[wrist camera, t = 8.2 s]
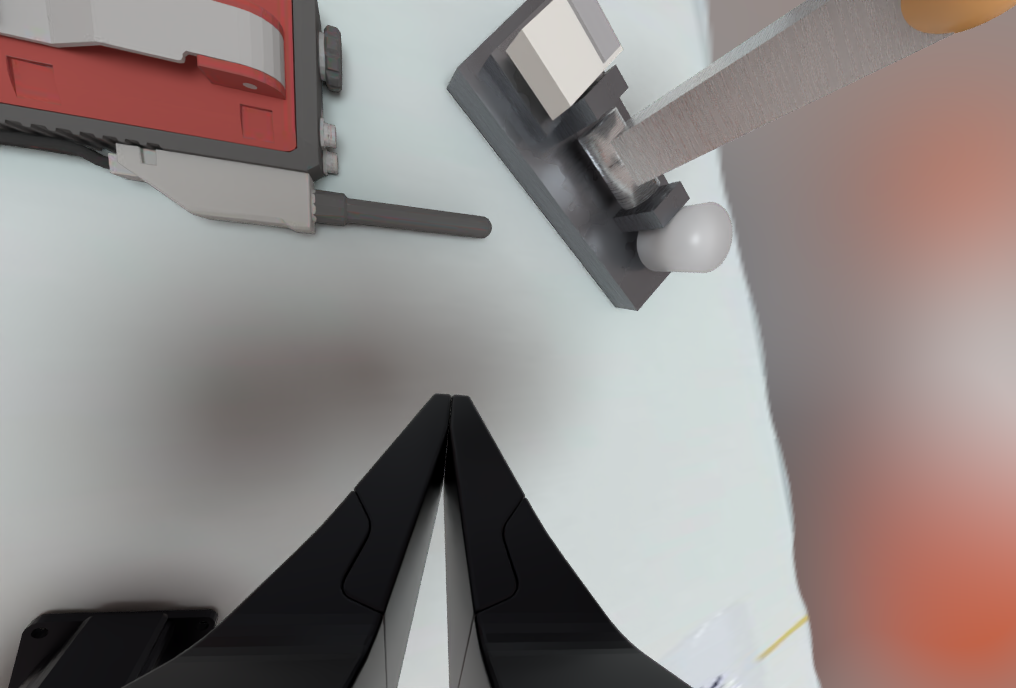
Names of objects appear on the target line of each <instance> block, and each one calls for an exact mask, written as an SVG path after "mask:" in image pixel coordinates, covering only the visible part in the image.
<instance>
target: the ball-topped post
mask: <svg viewBox="0 0 1016 688" xmlns="http://www.w3.org/2000/svg"><path fill="white" fill-rule="evenodd" d="M1015 5H1016V0H806V1H805V2H803V3H802V4H800V5H799V6H797V7H796V8H794V9H793V10H791V11H790V12H788V13H787V14H785V15H784V16H782V17H781V18H779V19H778V20H776V21H775V22H773V23H772V24H771V25H769V26H767V27H766V28H764V29H763V30H762V31H760V32H759V33H757V34H755V35H754V36H753V37H751V38H749V39H748V40H746V41H745V42H743V43H742V44H740V45H739V46H737V47H736V48H735V49H733V50H731V51H730V52H728V53H727V54H726V55H724V56H722V57H721V58H719V59H718V60H716V61H715V62H714V63H712V64H711V65H709V66H708V67H706V68H705V69H703V70H702V71H700V72H699V73H697V74H696V75H694V76H693V77H691V78H690V79H688V80H687V81H685V82H684V83H682V84H681V85H679V86H678V87H676V88H675V89H673V90H672V91H670V92H669V93H667V94H666V95H664V96H663V97H661V98H660V99H658V100H657V101H655V102H654V103H652V104H651V105H649V106H648V107H646V108H645V109H643V110H642V111H640V112H639V113H637V114H636V115H634V116H633V117H631V118H630V119H628V120H627V121H624V120H623V118H622V116H621V115H620V113H619V111H618V109H617V108H616V107H613V108H611V109H609V110H608V111H606V112H605V113H604V114H603V115H602V116H601V117H600V118H599V119H598V120H597V121H595V122H594V123H592V124H591V125H589V126H588V127H587V128H586V129H585V130H584V131H583V133H582V134H581V135H580V136H579V138H578V141H579V143H580V144H581V146H582V147H583V149H584V150H585V152H586V153H587V155H588V156H589V158H590V159H591V161H592V162H593V164H594V165H595V167H596V169H597V170H598V172H599V173H600V175H601V176H602V178H603V179H604V181H605V182H606V184H607V185H608V187H609V188H610V190H611V191H612V193H613V194H614V196H615V198H616V199H617V201H618V202H619V204H620V205H621V207H622V208H623V209H624V210H627V209H631V208H634V207H636V206H638V205H639V204H641V203H643V202H644V201H646V200H647V199H648V198H649V197H651V196H652V195H653V194H654V193H655V192H656V190H657V189H658V188H659V186H660V182H659V180H658V178H657V177H658V176H660V175H662V174H664V173H666V172H668V171H670V170H673V169H675V168H677V167H679V166H681V165H683V164H685V163H687V162H689V161H691V160H693V159H695V158H697V157H699V156H702V155H704V154H706V153H708V152H710V151H712V150H714V149H716V148H718V147H720V146H722V145H724V144H726V143H728V142H731V141H733V140H735V139H737V138H739V137H741V136H743V135H745V134H747V133H749V132H751V131H753V130H755V129H757V128H759V127H762V126H764V125H766V124H768V123H770V122H772V121H774V120H776V119H778V118H780V117H782V116H784V115H786V114H789V113H791V112H793V111H795V110H797V109H799V108H801V107H803V106H805V105H807V104H809V103H811V102H813V101H815V100H817V99H820V98H821V97H824V96H826V95H828V94H830V93H832V92H834V91H836V90H838V89H840V88H842V87H845V86H847V85H849V84H850V83H853V82H855V81H857V80H859V79H861V78H863V77H865V76H867V75H869V74H871V73H873V72H876V71H877V70H880V69H882V68H884V67H886V66H888V65H890V64H892V63H894V62H896V61H898V60H900V59H902V58H905V57H907V56H909V55H911V54H913V53H915V52H917V51H919V50H921V49H923V48H925V47H927V46H929V45H932V44H934V43H936V42H938V41H939V40H942V39H944V38H946V37H948V36H950V35H952V34H954V33H958V32H962V31H965V30H968V29H971V28H974V27H976V26H979V25H981V24H983V23H986V22H987V21H989V20H991V19H993V18H995V17H997V16H999V15H1001V14H1002V13H1004V12H1006V11H1007V10H1009V9H1010V8H1012V7H1013V6H1015Z"/></svg>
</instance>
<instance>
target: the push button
mask: <svg viewBox="0 0 1016 688" xmlns="http://www.w3.org/2000/svg"><path fill="white" fill-rule="evenodd" d="M731 242H732V223H731V220H730V217H729V215H728V213H727V211H726V210H725V209H724V208H723V207H722V206H721V205H719V204H717V203H714V202H708V203H702V204H696V205H690V206H684V207H682V208H681V209H680V210H679V211H678V212H677V213H676V215H675V216H674V217H673V218H672V219H671V220H670V221H669V223H668V224H667V225H666V226H665V227H664V228H658V229H649V230H641V231H639V232H638V236H637V251H638V255H639V258H640V260H641V262H642V263H643V264H644V266H646V267H647V268H648V269H650V270H652V271H660V272H693V273H707V272H711V271H713V270H715V269H716V268H717V267H719V266H720V265H721V264H722V262H723V261H724V260H725V258H726V256H727V254H728V252H729V250H730V246H731Z"/></svg>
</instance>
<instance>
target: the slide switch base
mask: <svg viewBox="0 0 1016 688" xmlns="http://www.w3.org/2000/svg"><path fill="white" fill-rule="evenodd" d="M552 1H553V0H527V1H526V2H525V3H524V4H523V5H522V6H521V7H519V8H518V9H517V10H516V11H515V12H514V13H513V14H512V15H511V16H510V17H509V18H508V19H507V20H506V21H505V22H504V23H503V24H502V25H501V26H500V27H499V28H498V29H497V30H496V31H495V32H494V33H493V34H492V35H491V36H490V37H489V38H487V39H486V40H485V41H484V42H483V43H482V44H481V45H480V46H479V47H478V48H477V49H476V50H475V51H474V52H473V53H472V54H471V55H470V56H469V57H468V58H467V59H466V60H465V61H464V62H463V63H462V64H461V65H460V66H459V67H458V68H457V69H456V71H455V73H454V75H453V77H452V79H451V81H450V83H449V85H448V87H447V89H448V91H449V92H450V93H451V94H452V96H453V97H454V98H455V100H456V101H457V102H458V104H459V105H460V106H461V107H462V109H463V110H464V111H465V113H466V114H467V115H468V116H469V118H470V119H471V120H472V122H473V123H474V124H475V126H476V127H477V128H478V129H479V131H480V132H481V133H482V135H483V136H484V137H485V138H486V140H487V141H488V142H489V144H490V145H491V146H492V148H493V149H494V150H495V151H496V153H497V154H498V155H499V157H500V158H501V159H502V160H503V162H504V163H505V164H506V166H507V167H508V168H509V170H510V171H511V172H512V173H513V175H514V176H515V177H516V179H517V180H518V181H519V182H520V184H521V185H522V186H523V188H524V189H525V190H526V192H527V193H528V194H529V195H530V197H531V198H532V199H533V201H534V202H535V203H536V204H537V206H538V207H539V208H540V210H541V211H542V212H543V214H544V215H545V216H546V217H547V219H548V220H549V221H550V223H551V224H552V225H553V226H554V228H555V229H556V230H557V232H558V233H559V234H560V236H561V237H562V238H563V239H564V241H565V242H566V243H567V245H568V246H569V247H570V249H571V250H572V251H573V252H574V254H575V255H576V256H577V258H578V259H579V260H580V261H581V263H582V264H583V265H584V267H585V268H586V269H587V271H588V272H589V273H590V274H591V276H592V277H593V278H594V280H595V281H596V282H597V283H598V285H599V286H600V287H601V289H602V290H603V291H604V293H605V294H606V295H607V296H608V298H609V299H610V300H611V302H612V303H613V304H614V305H615V307H618V308H624V309H629V310H635V311H638V310H639V309H640V307H641V306H642V305H643V304H644V303H645V302H646V300H647V299H648V298H649V297H650V296H651V295H652V293H653V292H654V291H655V290H656V289H657V288H658V286H659V285H660V284H661V283H662V282H663V281H664V279H665V278H666V277H667V276H668V275H669V274H670V273H671V272H660V271H652V270H650V269H648V268H647V267H646V266H644V264H643V263H642V262H641V260H640V258H639V255H638V251H637V236H638V232H639V231H641V230H649V229H658V228H664V227H665V226H666V225H667V224H668V223H669V221H670V220H671V219H672V218H673V217H674V216H675V215H676V213H677V212H678V211H679V210H680V209H681V208H682V207H683V205H684V204H685V203H686V202H687V201H688V200H689V199H690V198H689V196H688V194H687V192H686V191H685V189H684V187H683V185H682V183H681V182H680V181H679V182H675V183H671V184H668V182H667V180H666V178H665V177H664V175H663V174H662V175H660V176H658V177H657V178H658V180H659V182H660V186H659V188H658V189H657V190H656V192H655V193H654V194H653V195H652V196H651V197H649V198H648V199H647V200H646V201H644V202H643V203H641V204H639V205H638V206H636V207H634V208H631V209H627V210H624V209H623V208H622V207H621V205H620V204H619V202H618V201H617V199H616V198H615V196H614V194H613V193H612V191H611V190H610V188H609V187H608V185H607V184H606V182H605V181H604V179H603V178H602V176H601V175H600V173H599V172H598V170H597V169H596V167H595V165H594V164H593V162H592V161H591V159H590V158H589V156H588V155H587V153H586V152H585V150H584V149H583V147H582V146H581V144H580V143H579V141H578V138H579V136H580V135H581V134H582V133H583V131H584V130H585V129H586V128H587V127H588V126H589V125H591V124H592V123H594V122H595V121H597V120H598V119H599V118H600V117H601V116H602V115H603V114H604V113H605V112H606V111H608V110H609V109H611V108H613V107H616V108H617V109H618V111H619V113H620V115H621V116H622V118H623V120H624V121H627V120H628V119H630V118H631V117H630V115H629V114H628V112H627V110H626V108H625V107H624V105H623V103H622V101H621V100H620V98H619V97H620V96H621V95H622V94H623V93H624V92H625V91H626V90H627V89H628V86H627V84H626V82H625V80H624V79H623V77H622V75H621V73H620V71H619V70H618V68H617V66H616V65H614V66H613V67H612V68H611V69H609V70H608V71H607V72H604V71H603V72H602V73H601V74H600V75H599V76H598V77H597V78H596V80H595V81H594V82H593V83H592V84H591V85H590V86H589V87H588V88H587V89H586V90H585V91H584V93H583V94H582V95H581V96H580V97H579V98H578V99H577V100H576V101H575V102H574V103H573V105H572V106H571V107H569V108H568V109H567V110H566V111H564V112H563V113H562V114H560V115H559V116H558V117H557V118H555V119H554V120H552V119H551V118H550V116H549V115H548V113H547V112H546V110H545V109H544V107H543V106H542V104H541V103H540V101H539V100H538V98H537V97H536V95H535V94H534V92H533V91H532V89H531V88H530V86H529V85H528V83H527V82H526V80H525V79H524V77H523V76H522V74H521V73H520V71H519V70H518V68H517V67H516V65H515V64H514V62H513V61H512V59H511V58H510V56H509V55H508V53H507V52H506V49H507V48H508V47H509V45H510V44H511V43H512V42H513V40H514V39H515V38H516V36H517V35H518V34H519V32H520V31H521V30H522V29H523V28H524V27H525V26H526V25H527V24H528V23H529V22H530V21H531V20H532V19H533V18H534V17H536V16H537V15H538V14H539V13H540V12H541V11H542V10H543V9H544V8H545V7H546V6H547V5H549V4H550V3H551V2H552Z"/></svg>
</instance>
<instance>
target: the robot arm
mask: <svg viewBox="0 0 1016 688" xmlns="http://www.w3.org/2000/svg"><path fill="white" fill-rule="evenodd" d="M451 399H452V401H451ZM450 409H451V411H450ZM449 420H450V421H449ZM448 430H449V432H448ZM447 440H448V442H447ZM446 451H447V453H446ZM445 461H446V463H445ZM444 471H445V474H444ZM443 480H444V524H445V557H446V591H447V625H448V659H449V688H692V687H691V686H690V685H688V684H687V683H685V682H684V681H682V680H681V679H680V678H678V677H677V676H675V675H674V674H673V673H671V672H670V671H668V670H667V669H665V668H664V667H663V666H661V665H660V664H658V663H657V662H656V661H654V660H653V659H651V658H650V657H648V656H647V655H646V654H644V653H643V652H642V651H640V650H639V649H638V648H637V647H636V646H634V645H633V644H632V643H631V642H630V641H629V640H628V639H627V638H626V637H625V636H624V635H623V634H622V633H621V632H620V631H619V630H618V629H617V628H616V626H615V625H614V624H613V623H612V622H611V620H610V619H609V618H608V616H607V615H606V614H605V612H604V611H603V610H602V608H601V607H600V606H599V604H598V603H597V602H596V600H595V599H594V597H593V596H592V595H591V593H590V592H589V591H588V589H587V588H586V586H585V585H584V584H583V582H582V581H581V580H580V578H579V577H578V575H577V574H576V573H575V571H574V570H573V569H572V567H571V566H570V565H569V563H568V562H567V560H566V559H565V558H564V556H563V555H562V553H561V552H560V551H559V549H558V548H557V546H556V545H555V543H554V542H553V540H552V539H551V538H550V536H549V535H548V533H547V532H546V530H545V528H544V527H543V525H542V523H541V522H540V520H539V518H538V517H537V515H536V514H535V512H534V510H533V508H532V506H531V505H530V503H529V501H528V499H527V498H525V494H524V493H523V491H522V489H521V487H520V485H519V484H518V482H517V480H516V478H515V477H514V475H513V473H512V471H511V470H510V468H509V466H508V464H507V462H506V461H505V459H504V457H503V455H502V454H501V452H500V450H499V448H498V446H497V445H496V443H495V441H494V439H493V438H492V436H491V434H490V432H489V430H488V429H487V427H486V425H485V423H484V422H483V420H482V418H481V416H480V415H479V413H478V411H477V409H476V407H475V406H474V404H473V402H472V400H471V399H470V397H469V396H465V395H453V396H452V397H451V395H450V394H439V393H436V394H434V395H433V396H432V397H431V398H430V400H429V401H428V402H427V403H426V404H425V405H424V407H423V408H422V409H421V410H420V411H419V413H418V414H417V415H416V416H415V417H414V418H413V420H412V421H411V422H410V423H409V424H408V425H407V427H406V428H405V429H404V430H403V431H402V433H401V434H400V435H399V436H398V437H397V438H396V440H395V441H394V442H393V443H392V444H391V446H390V447H389V448H388V449H387V450H386V451H385V453H384V454H383V455H382V456H381V457H380V458H379V460H378V461H377V462H376V463H375V464H374V466H373V467H372V468H371V469H370V470H369V471H368V473H367V474H366V475H365V476H364V477H363V478H362V480H361V481H360V482H359V483H358V484H357V486H356V487H355V488H354V491H351V492H350V493H349V495H348V496H347V497H346V498H345V499H344V501H343V502H342V503H341V504H340V505H339V506H338V508H337V509H336V510H335V511H334V512H333V513H332V514H331V515H330V516H329V518H328V519H327V520H326V521H325V522H324V523H323V524H322V525H321V526H320V527H319V528H318V529H317V530H316V531H315V532H314V533H313V534H312V535H311V536H310V537H309V538H308V539H307V540H306V541H305V542H304V543H303V544H302V545H301V546H300V547H299V548H298V549H297V550H296V551H295V552H294V553H293V554H292V555H291V556H290V557H289V558H288V559H287V560H286V561H285V562H284V563H283V564H282V565H281V566H280V567H279V568H278V569H277V570H275V571H274V572H273V573H272V574H271V575H270V576H269V577H268V578H267V579H266V580H265V581H264V582H263V583H262V584H261V585H260V586H259V587H258V588H257V589H256V590H255V591H254V592H252V593H251V594H250V595H249V596H248V597H247V598H246V599H245V600H244V601H243V602H242V603H241V604H240V605H239V606H238V607H237V608H236V609H235V610H234V611H233V612H232V613H231V614H229V615H228V616H227V617H226V618H225V619H224V620H223V621H222V622H221V623H220V624H219V625H218V626H216V622H217V619H218V614H217V613H216V612H215V611H213V610H173V611H136V612H99V613H63V614H45V615H42V616H39V617H37V618H36V619H34V620H33V621H32V622H31V623H30V624H29V625H28V627H27V628H26V629H25V630H24V632H23V634H22V637H21V641H20V645H19V649H18V653H17V656H16V660H15V664H14V668H13V672H12V676H11V680H10V683H9V687H8V688H397V686H398V682H399V677H400V673H401V668H402V664H403V660H404V655H405V651H406V646H407V642H408V638H409V633H410V629H411V624H412V620H413V616H414V611H415V607H416V602H417V598H418V594H419V589H420V585H421V580H422V576H423V572H424V567H425V563H426V558H427V554H428V550H429V545H430V541H431V536H432V532H433V528H434V523H435V519H436V514H437V510H438V506H439V501H440V497H441V492H442V487H443ZM203 621H205V622H208V623H200V622H203ZM215 626H216V627H215ZM40 628H46V629H47V630H43V629H40Z"/></svg>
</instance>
